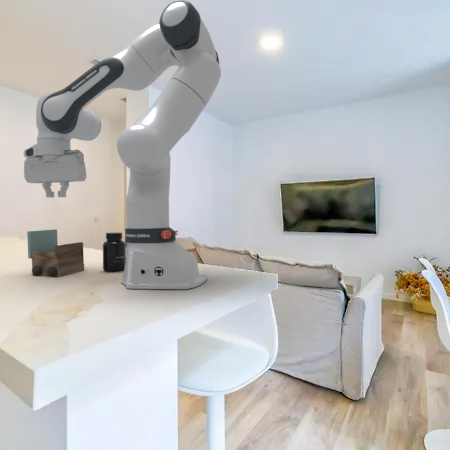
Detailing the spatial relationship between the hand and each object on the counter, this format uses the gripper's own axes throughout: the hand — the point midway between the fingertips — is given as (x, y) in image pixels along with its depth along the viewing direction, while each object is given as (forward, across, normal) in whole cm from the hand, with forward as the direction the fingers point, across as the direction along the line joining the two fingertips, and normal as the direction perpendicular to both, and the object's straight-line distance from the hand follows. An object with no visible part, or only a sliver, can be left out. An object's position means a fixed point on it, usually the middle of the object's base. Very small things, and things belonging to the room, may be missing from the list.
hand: (56, 197), depth 94 cm
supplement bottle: (+23, -15, -7) cm, 29 cm away
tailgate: (+18, +5, 0) cm, 19 cm away
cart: (+23, 0, 0) cm, 23 cm away
